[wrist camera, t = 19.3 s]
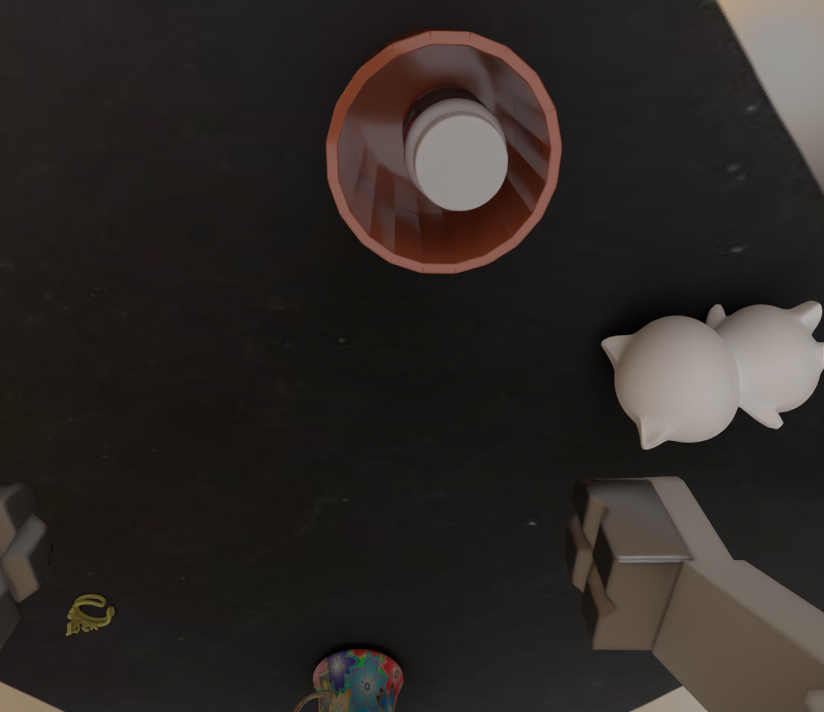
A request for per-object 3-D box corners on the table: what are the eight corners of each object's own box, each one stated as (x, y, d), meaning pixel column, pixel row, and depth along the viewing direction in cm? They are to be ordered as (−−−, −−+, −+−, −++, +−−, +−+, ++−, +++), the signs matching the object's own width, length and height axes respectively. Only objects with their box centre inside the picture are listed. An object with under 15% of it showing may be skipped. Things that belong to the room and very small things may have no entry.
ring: (73, 592, 52) (49, 624, 50) (96, 589, 51) (72, 622, 49) (101, 614, 54) (78, 646, 52) (124, 612, 52) (102, 646, 50)
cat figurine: (885, 382, 31) (654, 438, 32) (805, 447, 40) (628, 488, 41) (801, 251, 35) (600, 304, 36) (746, 337, 45) (587, 377, 45)
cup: (339, 24, 31) (320, 27, 23) (532, 30, 31) (578, 34, 23) (345, 216, 36) (331, 272, 28) (512, 219, 36) (544, 275, 28)
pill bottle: (392, 97, 32) (391, 121, 25) (480, 73, 31) (505, 90, 24) (414, 185, 34) (419, 230, 27) (495, 164, 34) (523, 204, 26)
